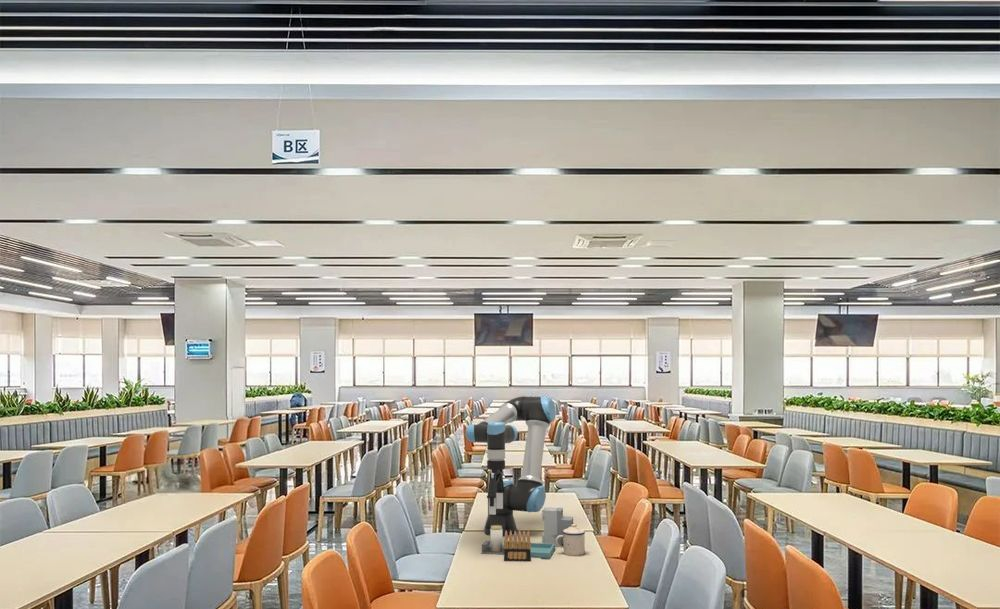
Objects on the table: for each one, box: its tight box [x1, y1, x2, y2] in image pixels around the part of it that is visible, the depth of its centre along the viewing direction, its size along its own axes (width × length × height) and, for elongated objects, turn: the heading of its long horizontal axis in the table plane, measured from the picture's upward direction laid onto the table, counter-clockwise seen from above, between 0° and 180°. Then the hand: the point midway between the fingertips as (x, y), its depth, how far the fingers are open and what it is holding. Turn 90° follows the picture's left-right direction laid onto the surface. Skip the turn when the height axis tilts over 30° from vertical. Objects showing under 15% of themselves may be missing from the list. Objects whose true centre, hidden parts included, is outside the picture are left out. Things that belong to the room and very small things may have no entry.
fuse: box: [489, 525, 504, 552], centre depth 310 cm, size 5×5×10 cm
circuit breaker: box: [541, 506, 578, 548], centre depth 322 cm, size 8×14×15 cm, turn 78°
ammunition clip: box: [503, 530, 532, 562], centre depth 295 cm, size 11×2×12 cm, turn 85°
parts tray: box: [517, 542, 556, 560], centre depth 307 cm, size 16×16×2 cm
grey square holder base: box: [480, 540, 509, 556], centre depth 310 cm, size 12×11×4 cm
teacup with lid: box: [556, 523, 586, 557], centre depth 307 cm, size 12×9×12 cm
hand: (496, 511), depth 311 cm, fingers open, 13 cm apart
